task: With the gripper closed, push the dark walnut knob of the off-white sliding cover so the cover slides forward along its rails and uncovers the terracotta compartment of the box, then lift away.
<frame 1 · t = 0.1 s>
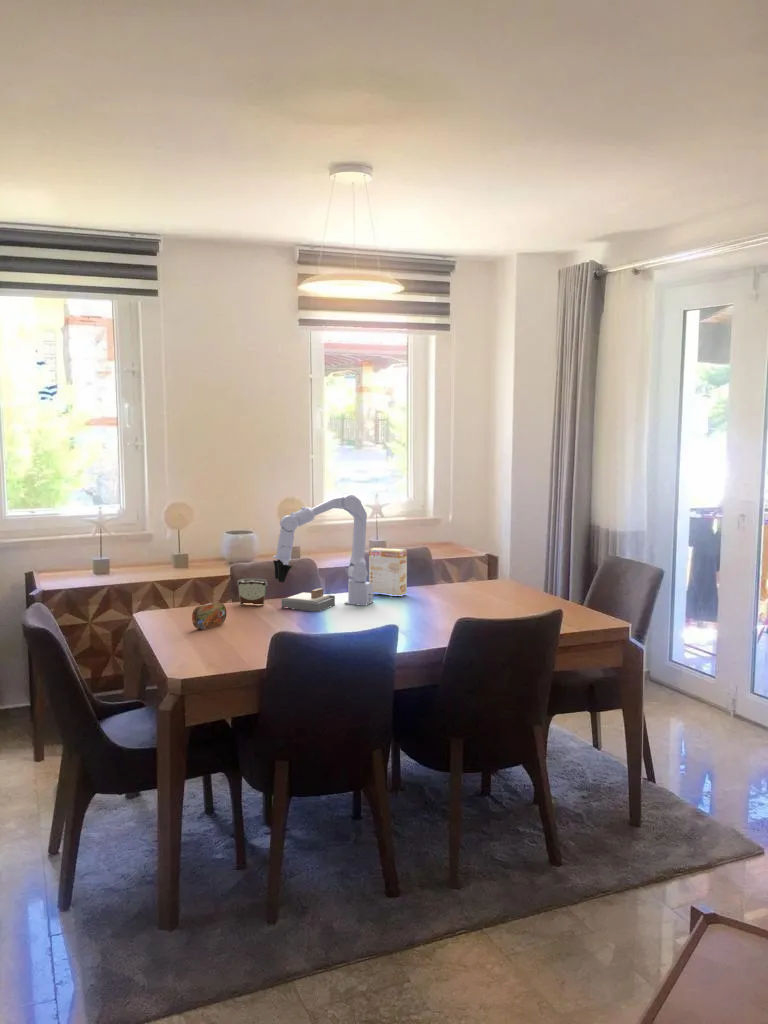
hand: (279, 580, 337), 11 cm above the table, tool pointing down, fingers open, 7 cm apart
tin: (209, 627, 302), on the table
cover: (308, 593, 339), point 5 cm above the table, slide at 0.0 cm
coffeecake box: (387, 595, 367), on the table
box: (308, 606, 339), on the table
food container: (253, 604, 344), on the table
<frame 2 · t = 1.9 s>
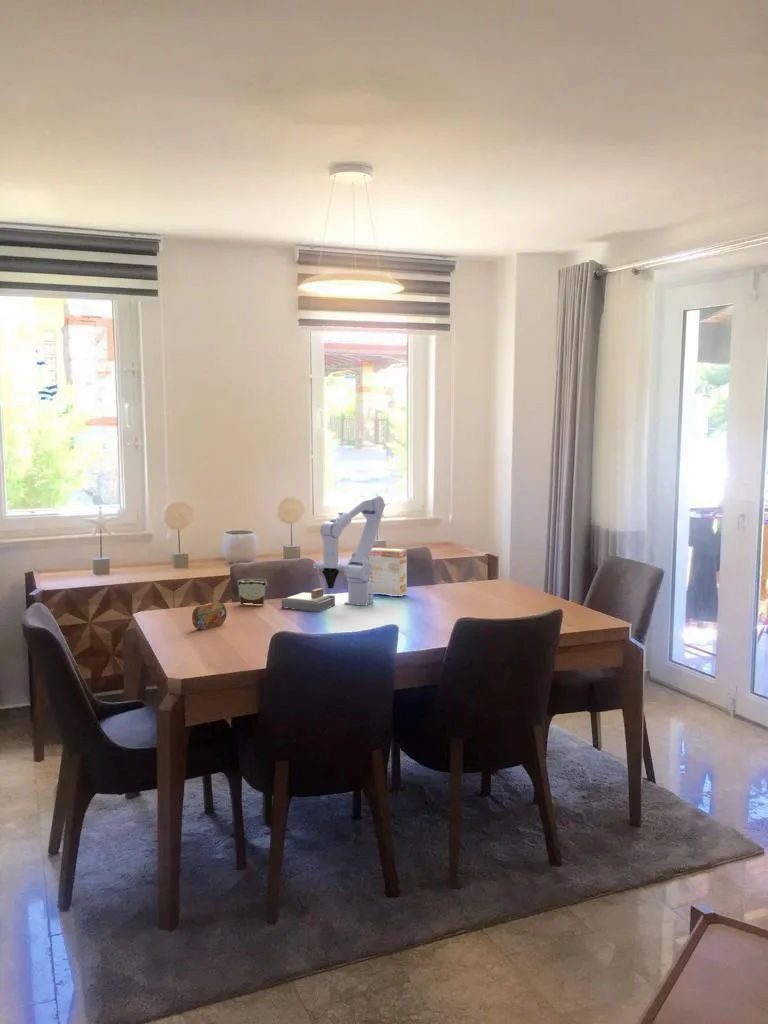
hand: (330, 588, 334), 8 cm above the table, tool pointing down, fingers closed
nothing on the table moved.
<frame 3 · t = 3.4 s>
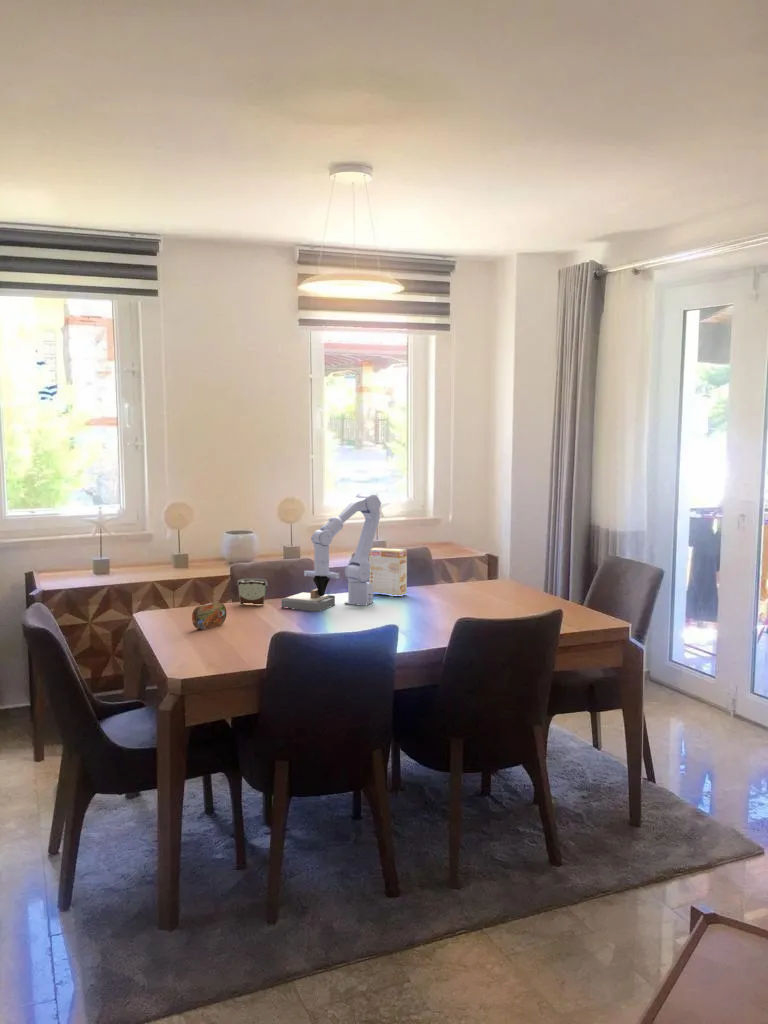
hand: (321, 595, 336), 5 cm above the table, tool pointing down, fingers closed
cover: (307, 593, 339), point 5 cm above the table, slide at 0.3 cm, touching gripper
everything else where it was.
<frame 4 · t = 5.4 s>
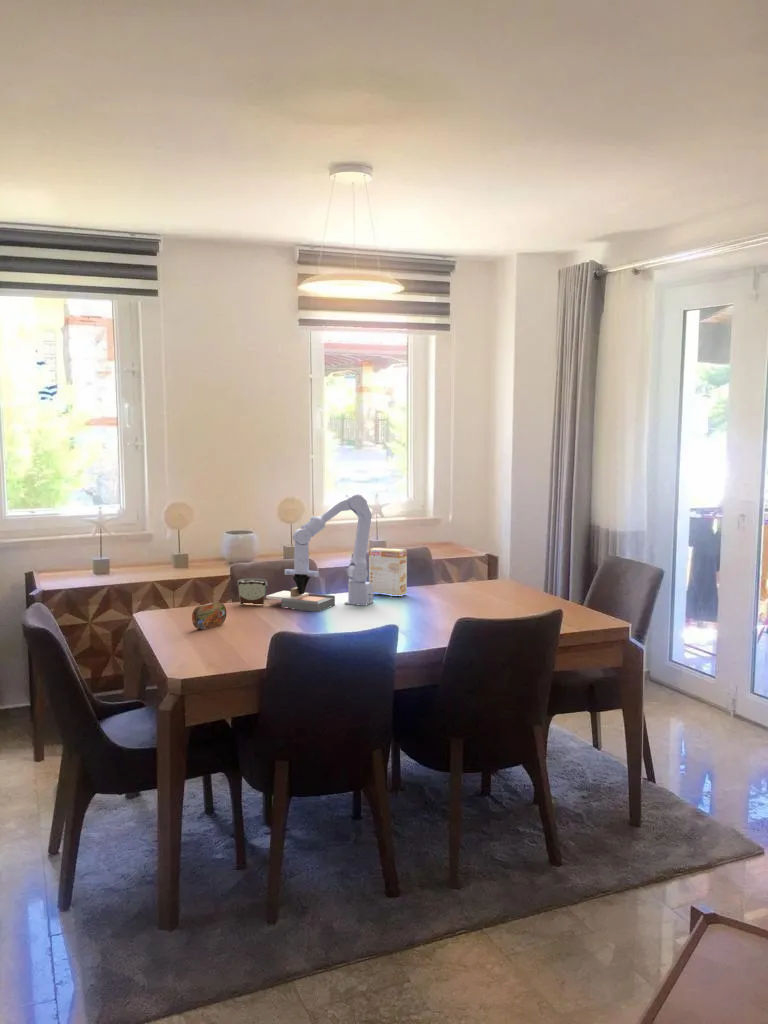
hand: (301, 593, 340), 5 cm above the table, tool pointing down, fingers closed
cover: (287, 591, 343), point 5 cm above the table, slide at 9.3 cm, touching gripper
everything else where it was.
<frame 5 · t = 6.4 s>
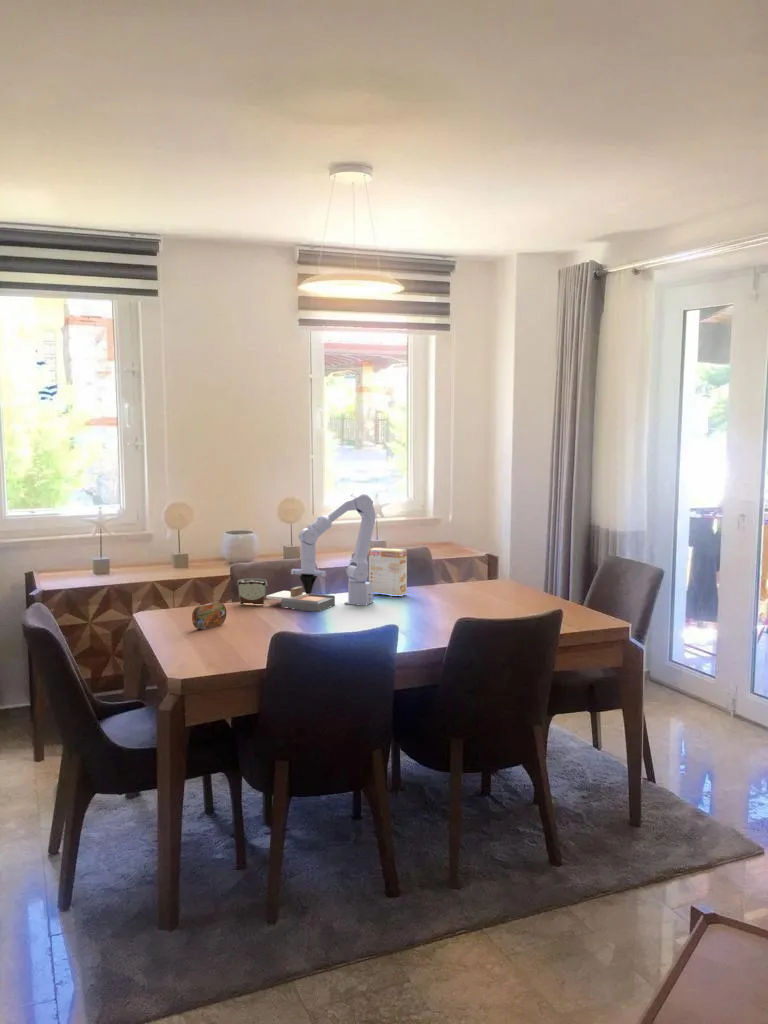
hand: (308, 593, 339), 5 cm above the table, tool pointing down, fingers closed
cover: (287, 591, 343), point 5 cm above the table, slide at 9.3 cm
everything else where it was.
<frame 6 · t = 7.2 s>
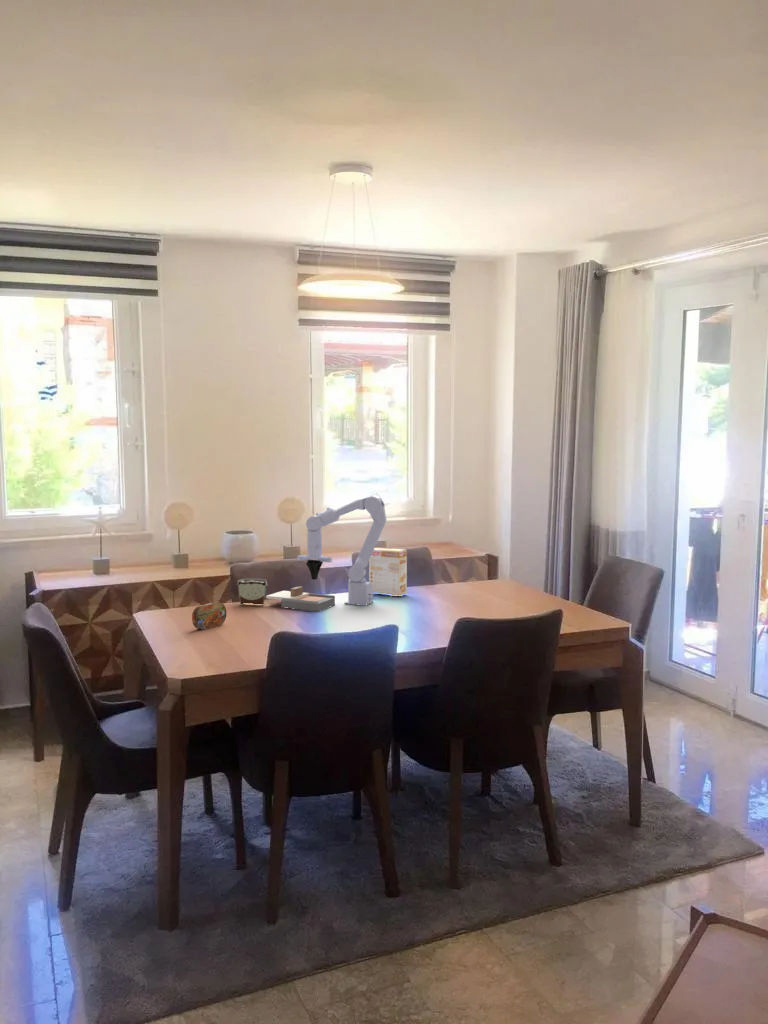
hand: (314, 579, 348), 9 cm above the table, tool pointing down, fingers closed
nothing on the table moved.
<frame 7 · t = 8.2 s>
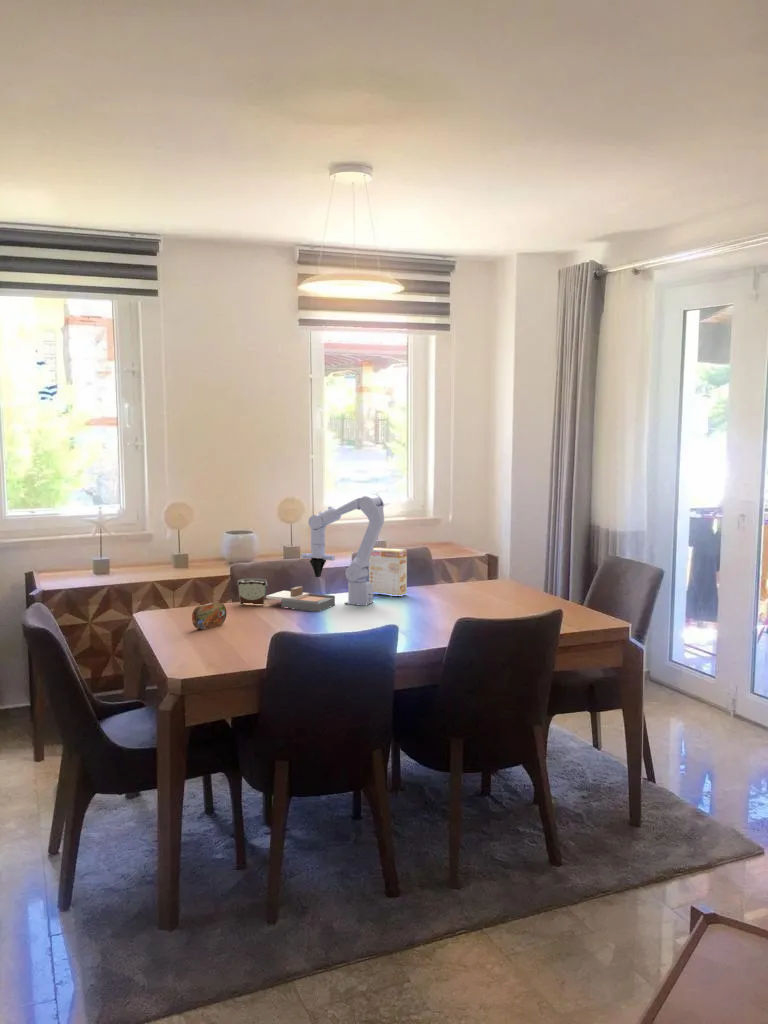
hand: (317, 576, 354), 9 cm above the table, tool pointing down, fingers closed
nothing on the table moved.
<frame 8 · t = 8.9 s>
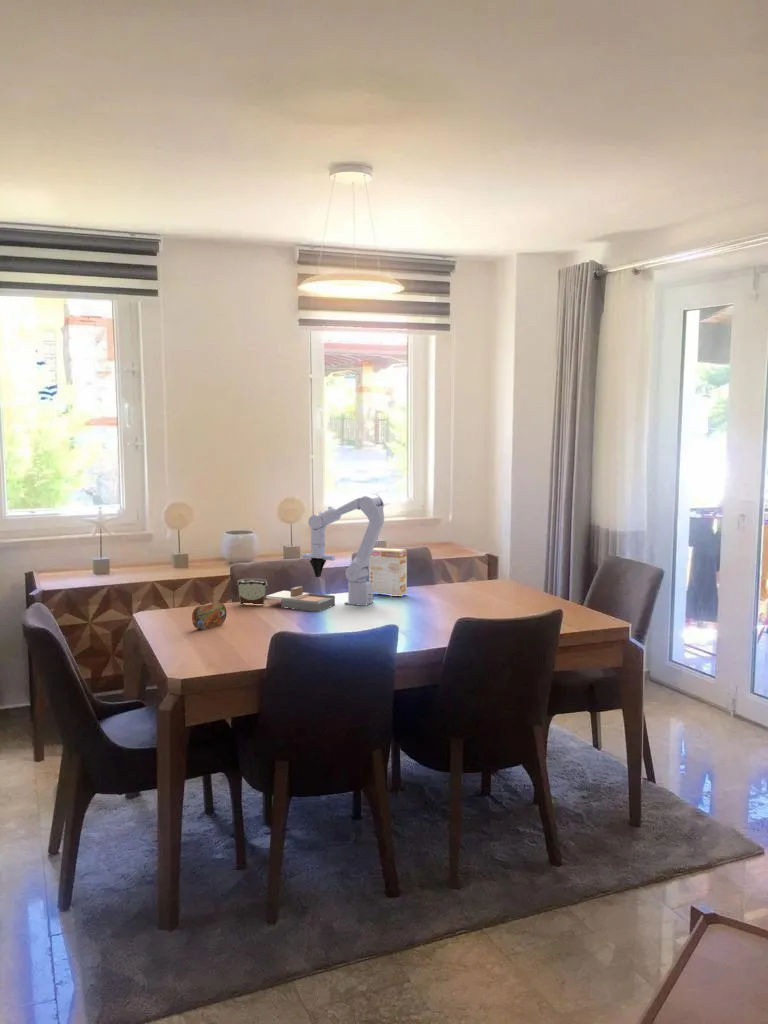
hand: (317, 576, 354), 9 cm above the table, tool pointing down, fingers closed
nothing on the table moved.
at the end: cover slide at 9.3 cm; food container moved 0.2 cm from its start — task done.
